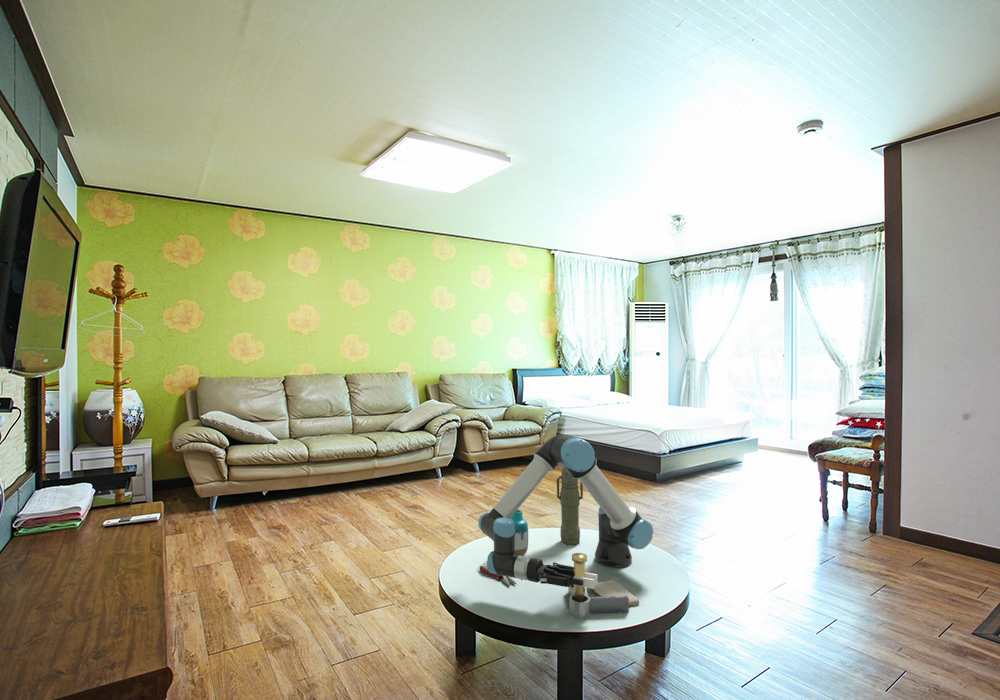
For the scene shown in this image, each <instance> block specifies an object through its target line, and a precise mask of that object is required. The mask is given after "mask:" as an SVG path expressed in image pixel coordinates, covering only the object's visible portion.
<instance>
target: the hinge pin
mask: <svg viewBox="0 0 1000 700" xmlns="http://www.w3.org/2000/svg"><path fill="white" fill-rule="evenodd" d="M571 561H572V562H573V567H574V576H579V577H584V578H585V572H586V562H587V561H588V556H587V554H585V553H582V552H575V553H571ZM585 595H586V587H582V586H577V585H574V601H577V602H585Z"/></svg>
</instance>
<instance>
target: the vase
mask: <svg viewBox="0 0 1000 700" xmlns="http://www.w3.org/2000/svg"><path fill="white" fill-rule="evenodd" d="M510 519H512V520H513V521H514V525H515V555H519V556H525V554H527V552H528V548H529V526H528V522H527V520H526V519H525V518H524V516H523V510H521V509H518V510H517V511H516V512H515V513H514V514H513V516H512V517H511V518H510Z"/></svg>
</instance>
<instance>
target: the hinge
mask: <svg viewBox="0 0 1000 700" xmlns="http://www.w3.org/2000/svg"><path fill="white" fill-rule="evenodd" d="M567 588H568V594H569V595H570V596H569V598H568V602H569V603H568V607H569V608H568V611H569V612H568V613H569V615H570V616H571V617H572V616H573V618H574V617H575V619H579V620H582V619H587V618H590V617H591V615H598V614H621V613H620V612H623V613H627V612H628V613H630V606H629V597H628V596H605V597H594V596H588V595H587V594H585V602H577V601H574V584H573V588H571V585H570V587H567ZM623 613H622V614H623Z"/></svg>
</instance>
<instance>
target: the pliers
mask: <svg viewBox="0 0 1000 700" xmlns="http://www.w3.org/2000/svg"><path fill="white" fill-rule="evenodd" d="M479 572H480V573H483V574H482V575H484V576H486V575H487V577H491V578H494V579H497V581H498V582H499V581H503V583H505V584H506V585H507V586H508V587H511V584H513V585H518V583H517V582H516V581H515V580H514V578H513V577H507V576H499V575H497V574H493V573H490V572H489V571H488V569H487V567H485V566H484V565H480V566H479Z"/></svg>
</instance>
